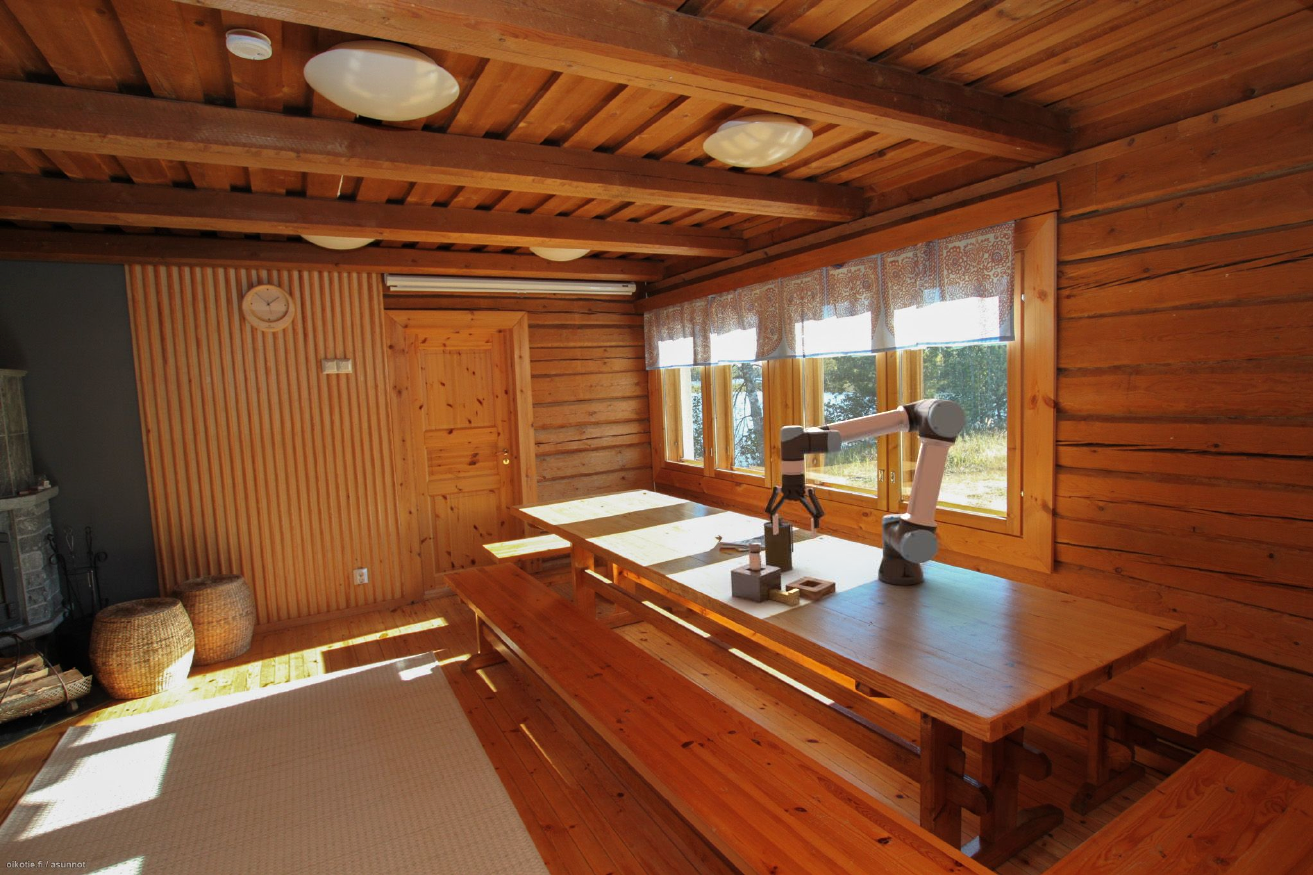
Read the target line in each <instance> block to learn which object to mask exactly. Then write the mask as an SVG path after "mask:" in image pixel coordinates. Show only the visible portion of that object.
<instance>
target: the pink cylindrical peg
mask: <svg viewBox="0 0 1313 875" xmlns="http://www.w3.org/2000/svg"><path fill="white" fill-rule="evenodd" d="M761 544H762V543H761V542H759V541H751V542H749V543H748V557H749V558H748V560H749V563H748V564H750V571H753V572H760V571H762V566H761V564H762V550H761V549H762V547H761V546H762V545H761Z"/></svg>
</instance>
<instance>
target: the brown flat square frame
mask: <svg viewBox="0 0 1313 875" xmlns="http://www.w3.org/2000/svg"><path fill="white" fill-rule="evenodd" d="M784 587H785V591H786V592H789V591H791V590H793V589H799V595H800V598H804V599H808V600H812V601H815V602H816V601H819V600H821V599H823V598H824V597H827V596H828V595H831V594H833V593H834V592H836V582H834V581H829V580H825V579H819V578H816V577H811V576H802V578H798V579H796V580H793V581H791V582H789V583H787V584H785V586H784Z"/></svg>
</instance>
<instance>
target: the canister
mask: <svg viewBox="0 0 1313 875" xmlns="http://www.w3.org/2000/svg"><path fill="white" fill-rule="evenodd" d="M769 519H770V517H769ZM778 526H779V533H778V534H776V535H773V524H771V521H766V522H763V530H764V531H763V532H764V534H763V535H764V556H765V565H768V566H773V567H778V568H781V573H785V572H790V571H791V570H793V556H792V554H793V553H794V532H793V531H794V530H793V523H791V522H789V521H785V520H783V517H782V516H779V515H778Z"/></svg>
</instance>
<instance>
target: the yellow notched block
mask: <svg viewBox="0 0 1313 875" xmlns="http://www.w3.org/2000/svg"><path fill="white" fill-rule="evenodd" d="M800 599H801V597H800V595H799V589H793V590H791V591H789V592H786V590H782V589H781V590H777V589H773V588H770V589H768V600H773V601H777V602H781V603H786V604H788V606H791V607H794V606H796V605H798V604H801V600H800Z"/></svg>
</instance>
